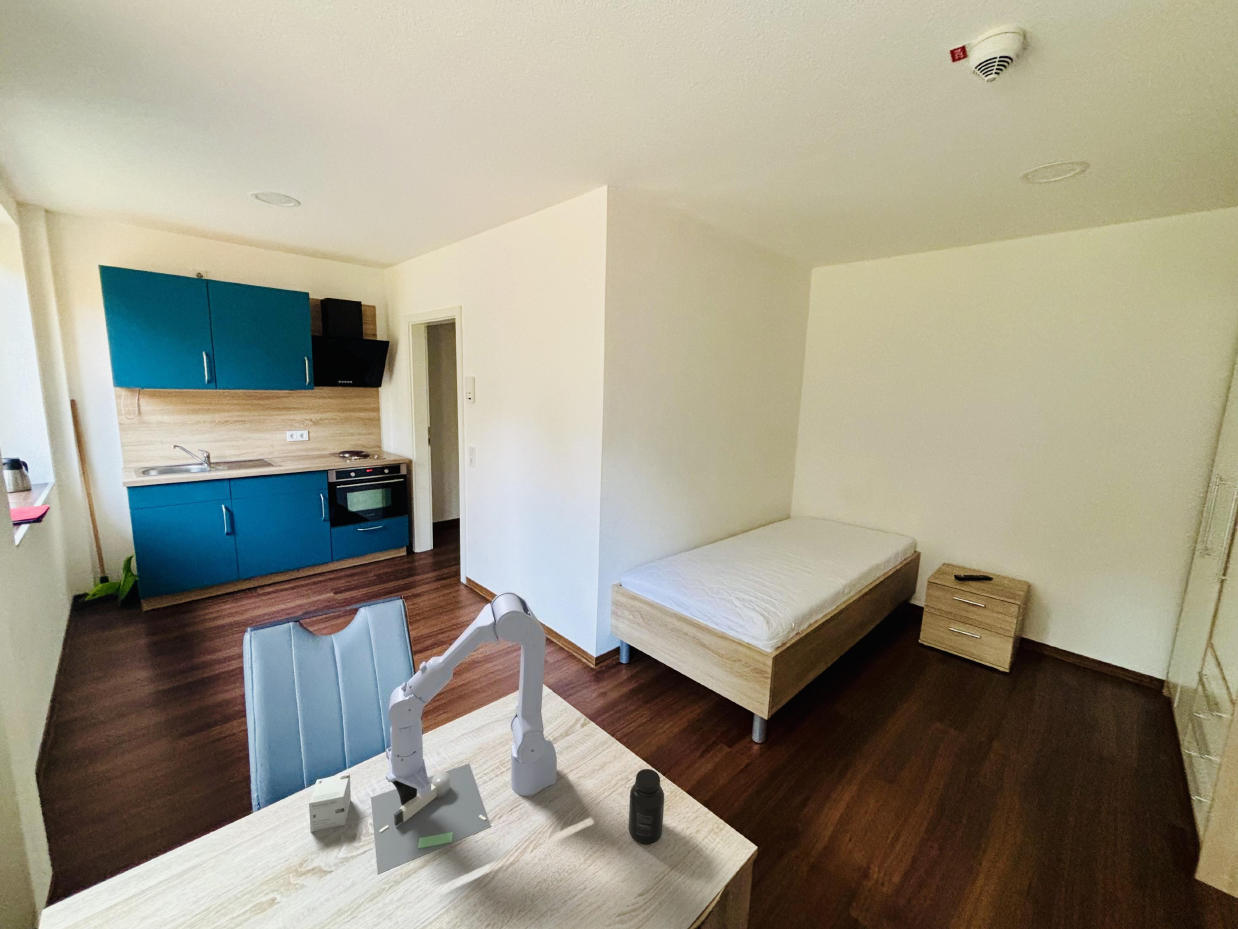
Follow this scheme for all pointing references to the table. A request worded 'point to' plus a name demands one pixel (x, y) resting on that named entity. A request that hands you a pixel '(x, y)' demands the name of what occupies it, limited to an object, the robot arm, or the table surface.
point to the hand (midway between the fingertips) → (409, 805)
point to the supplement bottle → (646, 808)
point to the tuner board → (427, 821)
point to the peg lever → (424, 798)
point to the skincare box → (330, 802)
